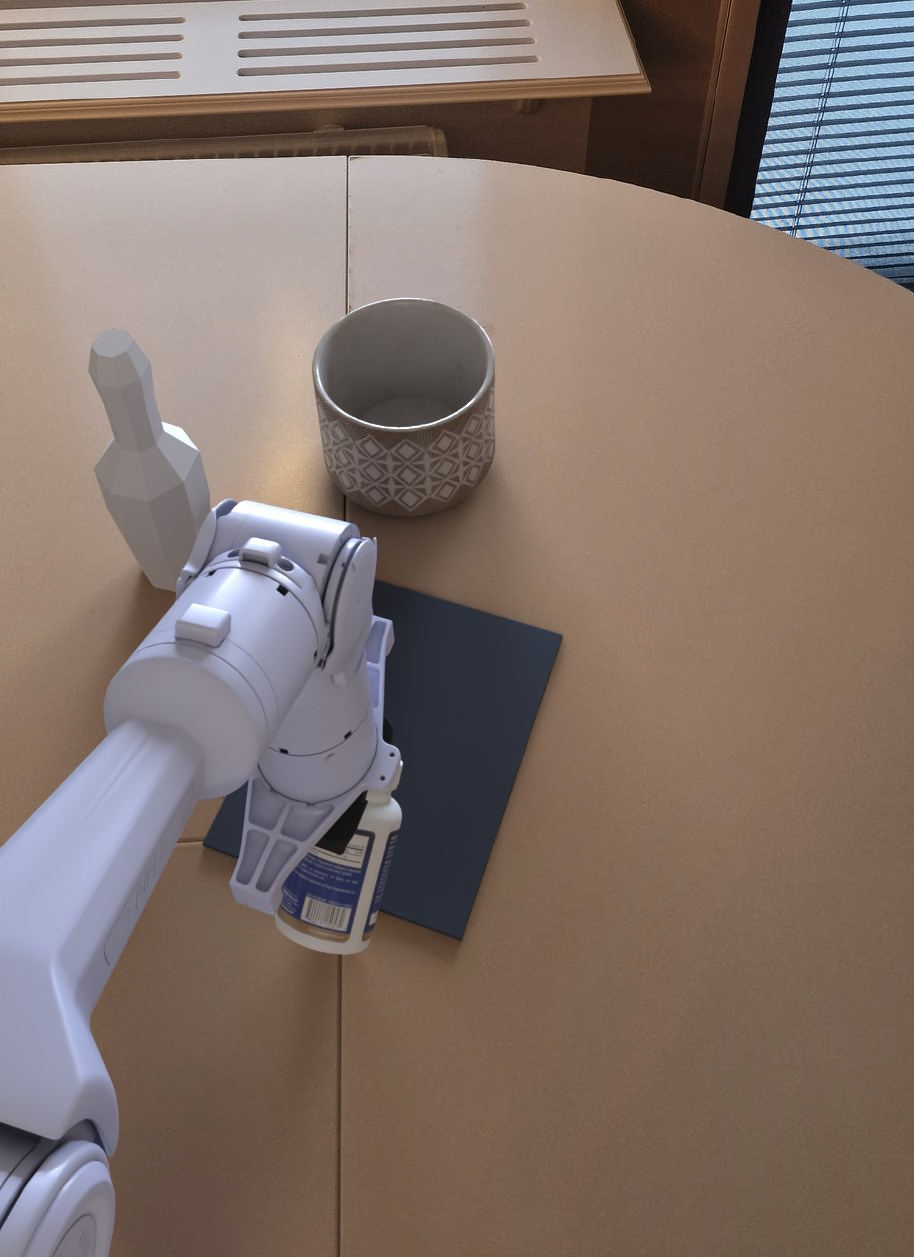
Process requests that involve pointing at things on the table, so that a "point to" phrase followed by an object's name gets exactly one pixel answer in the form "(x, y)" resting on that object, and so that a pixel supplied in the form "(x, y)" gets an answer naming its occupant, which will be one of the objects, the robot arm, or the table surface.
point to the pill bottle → (343, 883)
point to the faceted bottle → (146, 464)
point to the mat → (444, 747)
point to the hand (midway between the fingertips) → (334, 826)
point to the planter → (406, 405)
